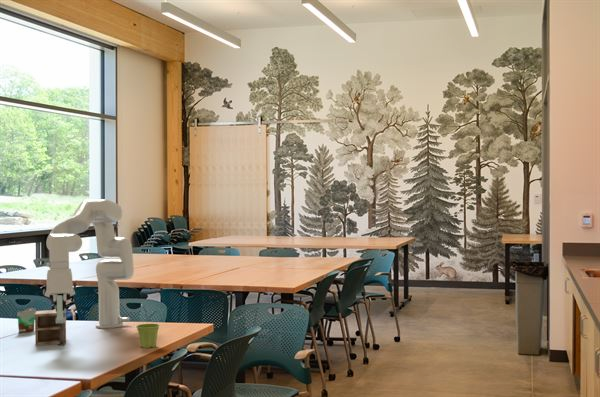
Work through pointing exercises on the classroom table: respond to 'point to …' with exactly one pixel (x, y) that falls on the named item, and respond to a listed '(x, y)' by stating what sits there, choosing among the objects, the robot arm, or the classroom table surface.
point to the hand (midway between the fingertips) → (60, 310)
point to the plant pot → (148, 334)
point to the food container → (26, 320)
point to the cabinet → (49, 328)
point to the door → (60, 310)
